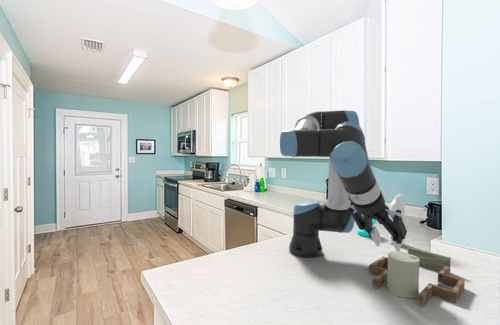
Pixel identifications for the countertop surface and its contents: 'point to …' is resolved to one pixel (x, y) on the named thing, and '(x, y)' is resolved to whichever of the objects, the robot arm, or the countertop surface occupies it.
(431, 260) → the channel
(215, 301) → the countertop surface
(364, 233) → the donuts
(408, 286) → the can
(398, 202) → the white bottle
